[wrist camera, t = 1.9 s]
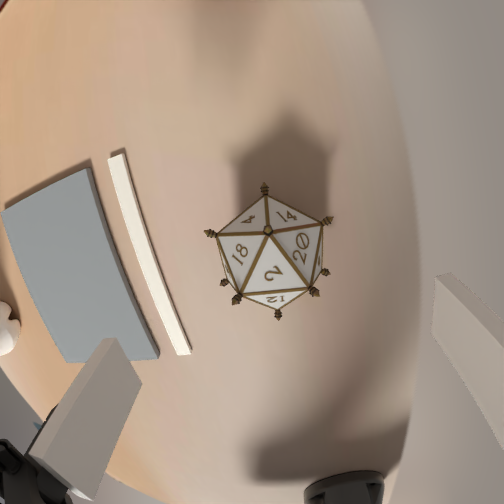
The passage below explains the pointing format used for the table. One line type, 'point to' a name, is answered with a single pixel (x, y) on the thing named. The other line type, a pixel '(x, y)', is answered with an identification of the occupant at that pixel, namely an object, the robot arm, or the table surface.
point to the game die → (271, 253)
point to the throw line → (146, 253)
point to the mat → (76, 270)
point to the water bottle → (7, 329)
